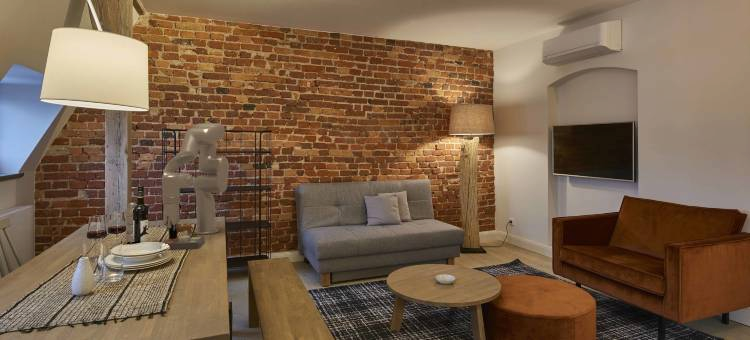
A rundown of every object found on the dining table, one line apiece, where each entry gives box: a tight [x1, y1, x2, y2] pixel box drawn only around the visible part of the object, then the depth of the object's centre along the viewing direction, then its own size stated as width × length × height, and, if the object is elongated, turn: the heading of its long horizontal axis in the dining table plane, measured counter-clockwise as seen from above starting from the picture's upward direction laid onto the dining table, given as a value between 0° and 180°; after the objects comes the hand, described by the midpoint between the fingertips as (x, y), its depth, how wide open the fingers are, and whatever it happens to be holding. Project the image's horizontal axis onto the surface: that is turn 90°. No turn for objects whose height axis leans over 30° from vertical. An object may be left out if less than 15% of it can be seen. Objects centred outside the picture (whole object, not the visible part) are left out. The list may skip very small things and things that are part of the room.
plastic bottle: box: [124, 202, 137, 243], centre depth 208 cm, size 6×7×20 cm
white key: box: [178, 235, 191, 241], centre depth 203 cm, size 4×4×2 cm
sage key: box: [190, 236, 202, 241], centre depth 204 cm, size 4×4×2 cm
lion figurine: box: [165, 223, 198, 238], centre depth 220 cm, size 15×5×9 cm, turn 121°
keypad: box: [162, 236, 206, 251], centre depth 202 cm, size 12×16×3 cm
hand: (173, 238), depth 202 cm, fingers closed
